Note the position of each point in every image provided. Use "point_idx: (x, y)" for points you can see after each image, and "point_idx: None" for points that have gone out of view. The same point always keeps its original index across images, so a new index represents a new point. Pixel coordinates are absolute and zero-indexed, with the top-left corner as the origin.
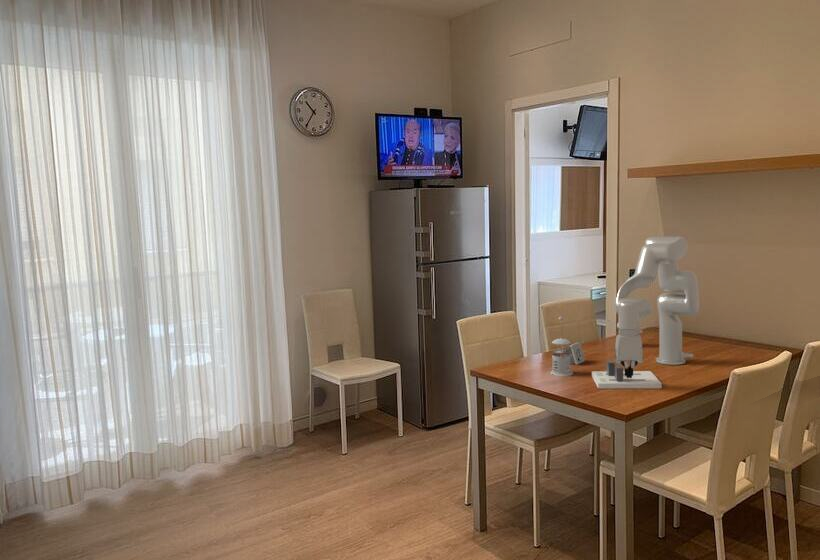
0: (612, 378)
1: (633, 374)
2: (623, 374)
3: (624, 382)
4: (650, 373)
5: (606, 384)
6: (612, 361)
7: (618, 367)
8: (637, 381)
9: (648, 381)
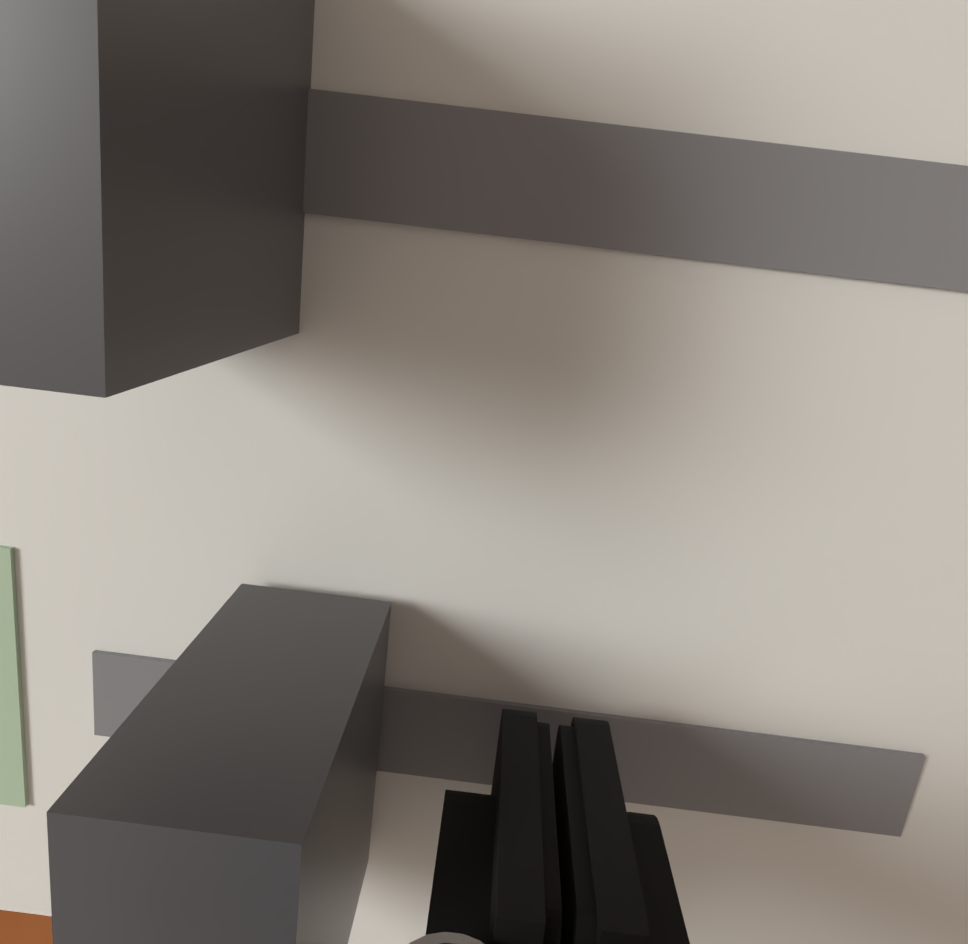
0: (193, 573)
1: (855, 277)
2: (574, 235)
3: (383, 901)
4: None
5: (20, 890)
6: (37, 57)
7: None
8: (682, 870)
9: (915, 904)
